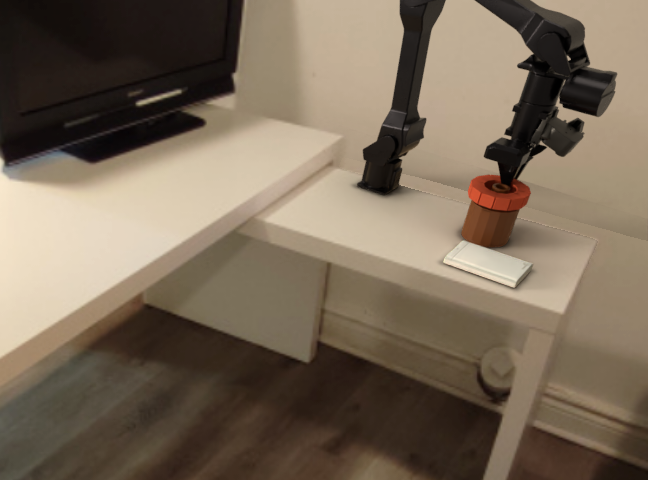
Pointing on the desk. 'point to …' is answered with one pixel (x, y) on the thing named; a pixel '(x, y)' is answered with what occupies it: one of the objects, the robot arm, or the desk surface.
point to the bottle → (489, 222)
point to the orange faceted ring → (499, 201)
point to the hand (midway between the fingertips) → (507, 186)
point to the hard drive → (488, 263)
